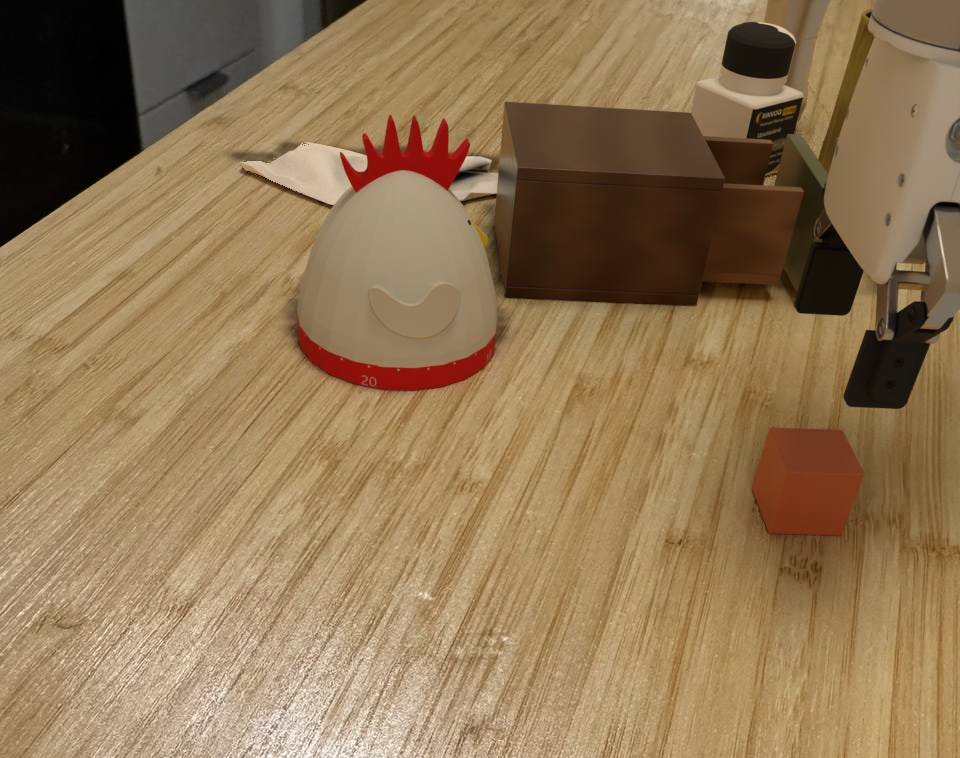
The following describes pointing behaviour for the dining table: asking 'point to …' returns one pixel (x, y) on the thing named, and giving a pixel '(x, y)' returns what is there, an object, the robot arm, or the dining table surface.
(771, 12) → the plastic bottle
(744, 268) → the drawer
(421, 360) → the kitchen timer
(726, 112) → the medicine bottle
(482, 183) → the cloth
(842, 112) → the vase
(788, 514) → the block
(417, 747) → the dining table surface
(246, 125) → the dining table surface
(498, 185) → the cabinet
